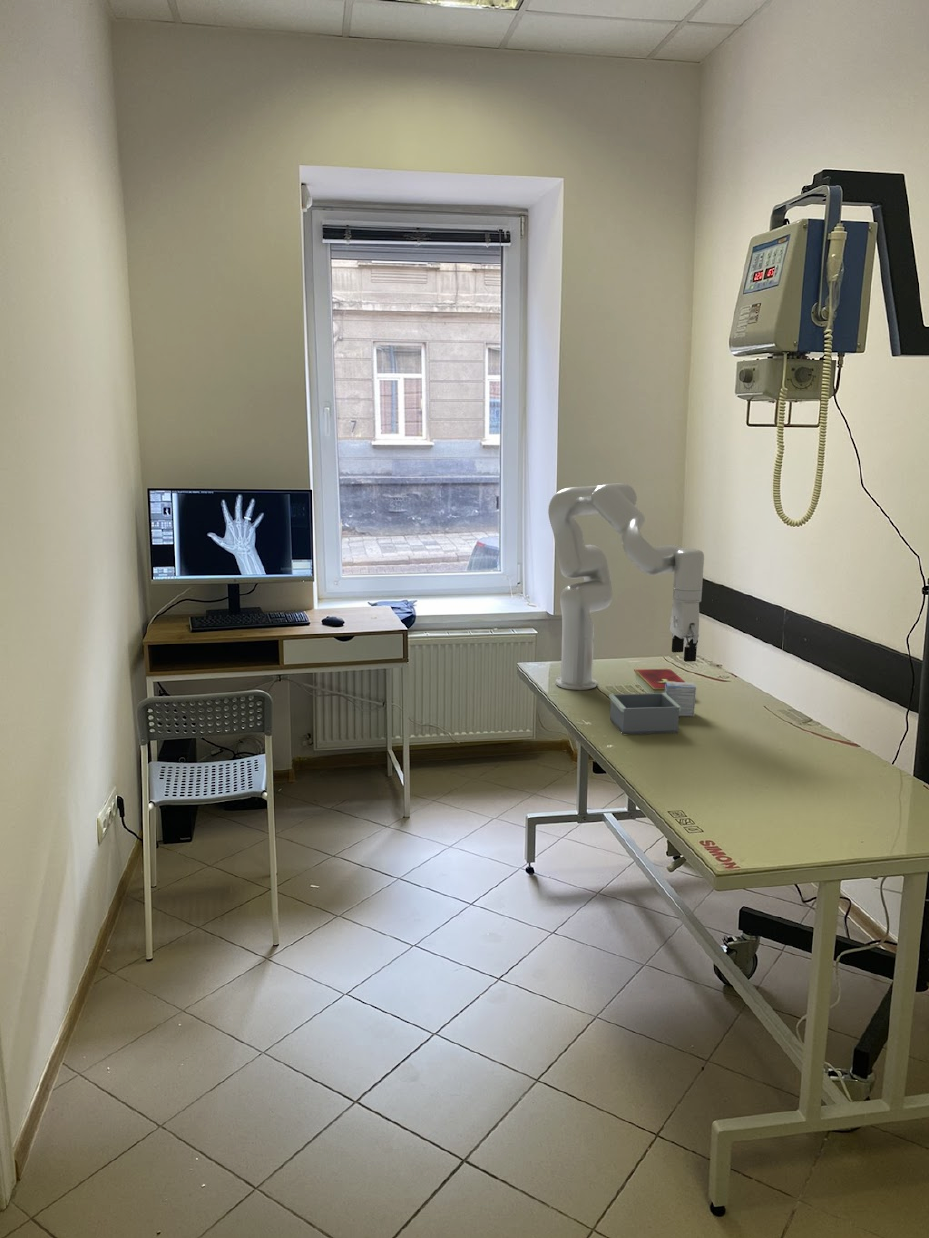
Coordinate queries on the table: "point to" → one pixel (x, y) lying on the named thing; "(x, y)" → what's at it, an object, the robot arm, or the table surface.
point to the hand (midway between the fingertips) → (683, 656)
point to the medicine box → (682, 696)
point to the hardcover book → (655, 679)
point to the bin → (644, 713)
